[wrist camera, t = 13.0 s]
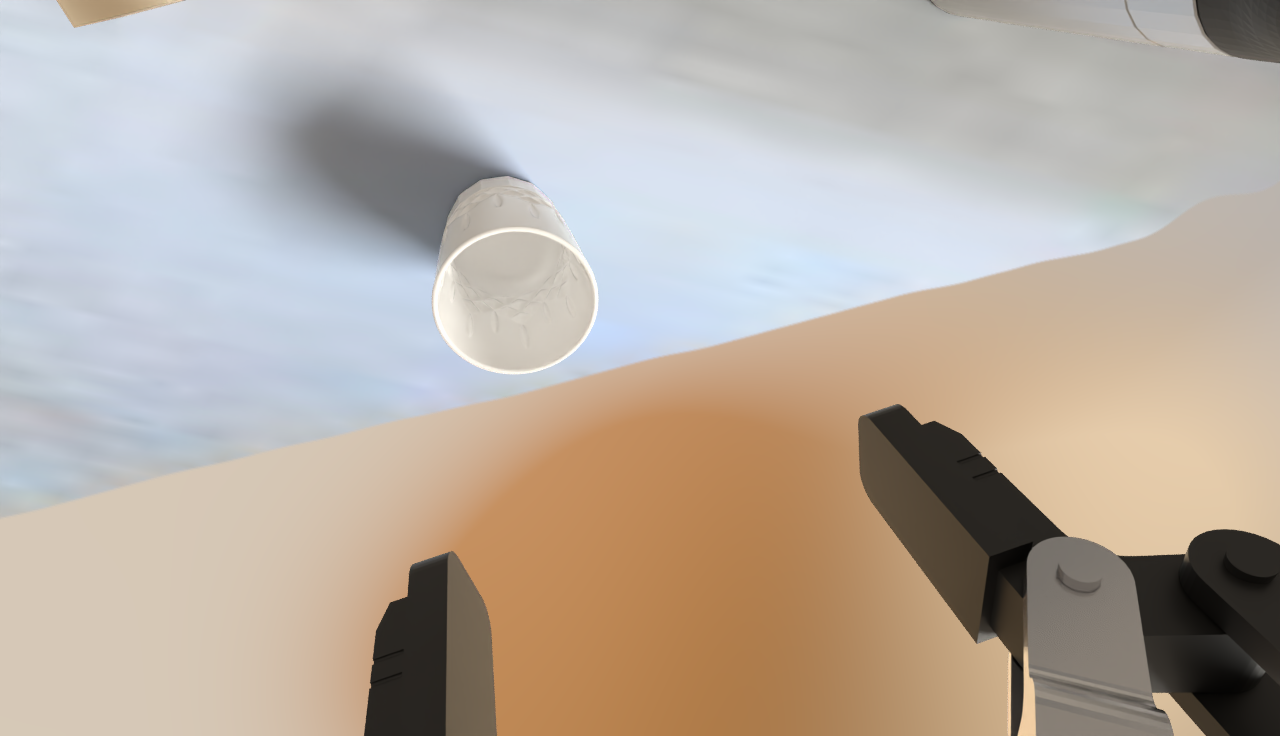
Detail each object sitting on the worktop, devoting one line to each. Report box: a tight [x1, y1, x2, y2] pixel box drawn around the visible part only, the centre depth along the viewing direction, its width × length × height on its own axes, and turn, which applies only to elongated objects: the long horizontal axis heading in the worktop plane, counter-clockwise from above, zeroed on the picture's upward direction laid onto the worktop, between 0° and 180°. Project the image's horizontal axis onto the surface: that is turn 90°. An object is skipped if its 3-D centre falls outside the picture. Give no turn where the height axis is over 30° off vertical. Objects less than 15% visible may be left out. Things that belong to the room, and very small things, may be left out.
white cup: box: [432, 176, 598, 374], centre depth 36 cm, size 8×8×10 cm
